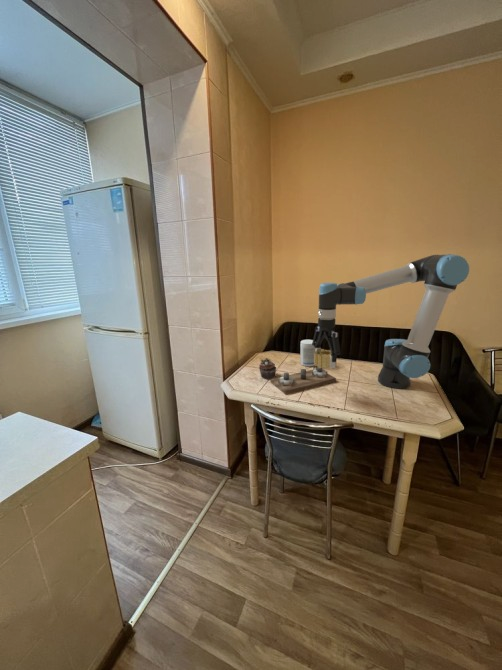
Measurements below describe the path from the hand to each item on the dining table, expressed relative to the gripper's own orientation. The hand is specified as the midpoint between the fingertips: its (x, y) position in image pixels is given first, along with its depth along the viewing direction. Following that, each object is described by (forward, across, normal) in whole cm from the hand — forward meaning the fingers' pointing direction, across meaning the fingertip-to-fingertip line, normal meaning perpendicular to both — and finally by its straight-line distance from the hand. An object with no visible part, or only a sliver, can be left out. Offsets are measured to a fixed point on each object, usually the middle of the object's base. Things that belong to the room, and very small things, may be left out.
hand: (324, 364), depth 131 cm
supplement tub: (+16, -36, +16) cm, 43 cm away
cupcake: (+16, -32, -14) cm, 38 cm away
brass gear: (0, 0, 0) cm, 0 cm away
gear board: (+16, -16, -1) cm, 22 cm away
